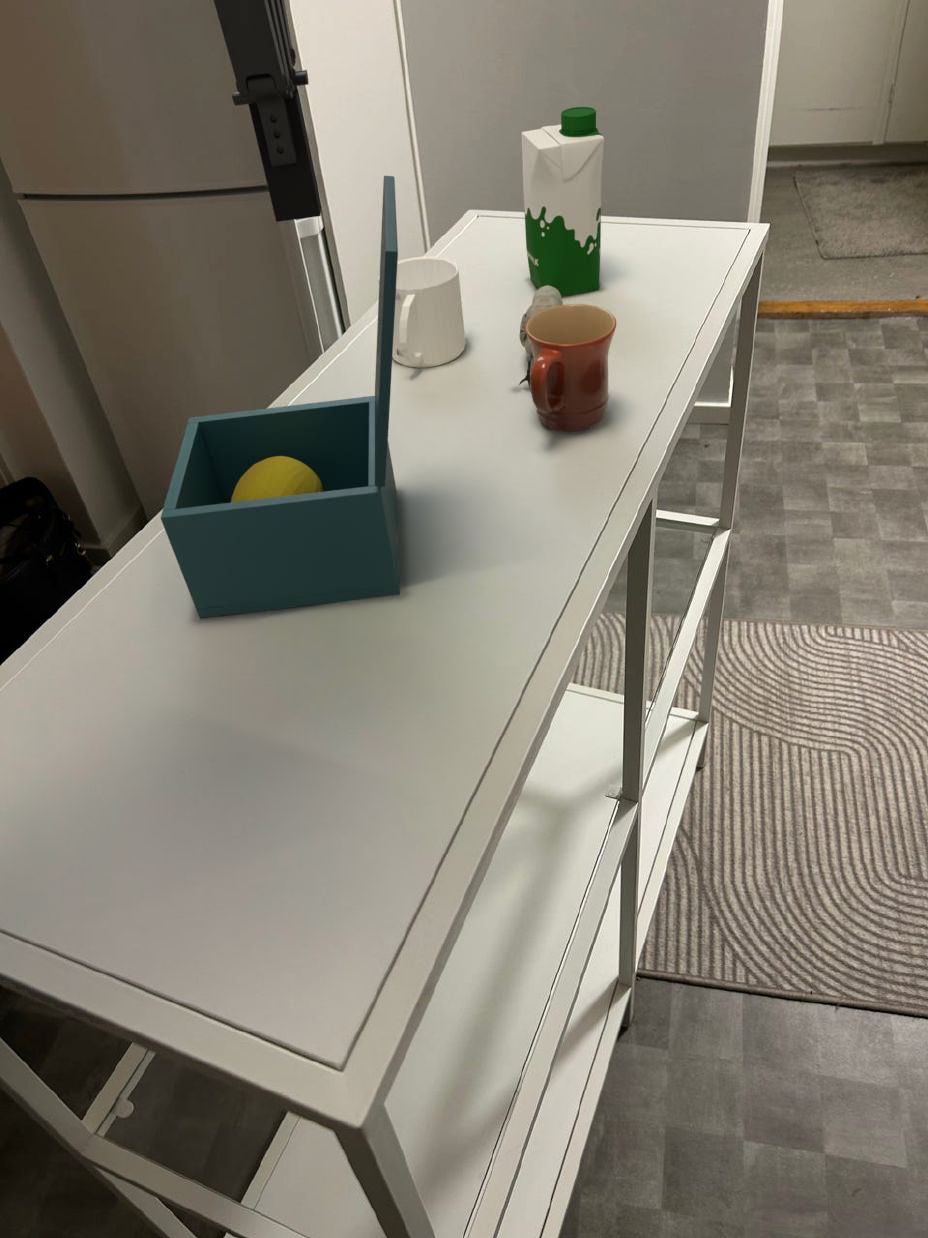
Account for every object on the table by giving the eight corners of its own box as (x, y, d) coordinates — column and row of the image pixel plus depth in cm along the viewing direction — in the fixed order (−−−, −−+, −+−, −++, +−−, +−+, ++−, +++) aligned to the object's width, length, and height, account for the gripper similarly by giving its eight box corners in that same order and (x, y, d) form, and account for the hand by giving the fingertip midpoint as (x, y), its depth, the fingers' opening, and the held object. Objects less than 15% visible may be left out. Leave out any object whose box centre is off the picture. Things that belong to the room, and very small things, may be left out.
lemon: (279, 503, 87) (258, 429, 82) (352, 516, 85) (336, 441, 79) (216, 575, 80) (189, 500, 75) (294, 591, 78) (272, 514, 72)
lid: (385, 250, 58) (398, 251, 58) (383, 174, 69) (394, 175, 69) (374, 486, 70) (385, 487, 70) (374, 389, 81) (384, 390, 81)
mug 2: (552, 389, 100) (549, 298, 93) (627, 404, 96) (630, 310, 89) (499, 446, 93) (492, 352, 86) (579, 464, 89) (578, 367, 82)
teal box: (199, 618, 78) (160, 517, 71) (221, 513, 89) (189, 417, 82) (399, 595, 77) (380, 491, 70) (396, 492, 89) (380, 394, 81)
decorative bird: (572, 324, 111) (571, 263, 106) (566, 392, 99) (565, 327, 94) (527, 326, 112) (524, 265, 107) (516, 393, 100) (512, 329, 95)
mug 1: (412, 328, 114) (401, 253, 108) (478, 337, 111) (471, 259, 105) (364, 374, 107) (350, 296, 100) (433, 385, 103) (423, 305, 97)
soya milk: (608, 291, 117) (611, 117, 103) (540, 304, 116) (533, 130, 102) (586, 265, 123) (585, 99, 110) (520, 278, 122) (512, 111, 109)
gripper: (247, -368, 35) (358, 247, 52) (275, -340, 45) (361, 172, 61) (55, -340, 36) (225, 264, 52) (124, -318, 45) (249, 186, 61)
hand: (299, 214), depth 56 cm, fingers closed
